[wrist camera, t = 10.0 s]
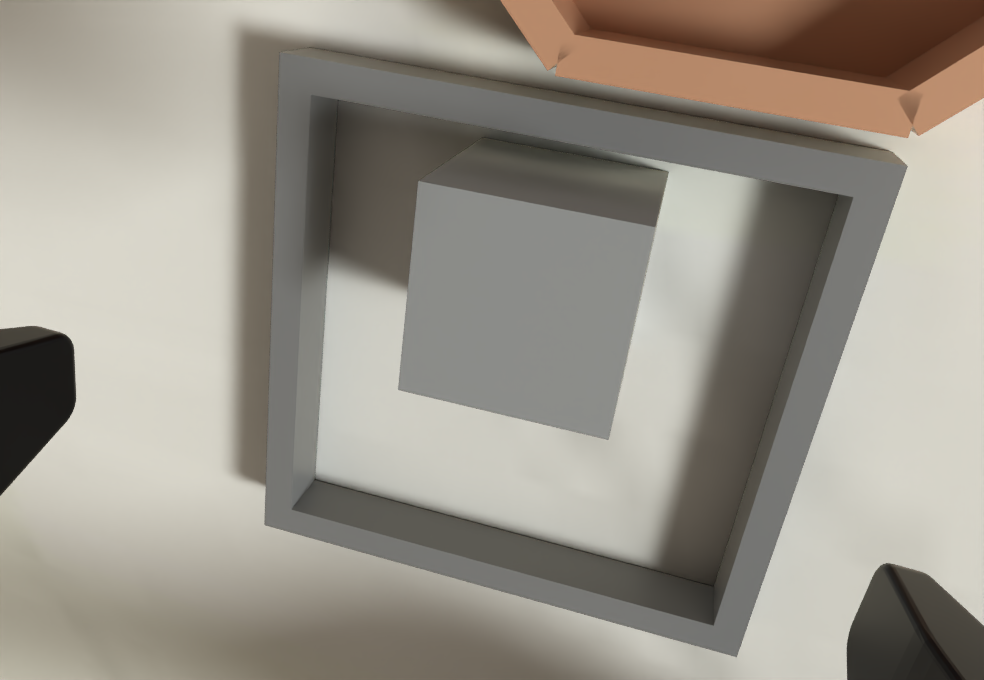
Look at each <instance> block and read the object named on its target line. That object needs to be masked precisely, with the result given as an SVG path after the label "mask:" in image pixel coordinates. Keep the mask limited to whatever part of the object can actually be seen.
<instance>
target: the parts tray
mask: <svg viewBox="0 0 984 680" xmlns="http://www.w3.org/2000/svg"><path fill="white" fill-rule="evenodd" d="M338 100H342V101H347V102H353V103H358V104H363V105H369V106H374V107H379V108H384V109H390V110H395V111H400V112H406V113H411V114H416V115H421V116H427V117H432V118H437V119H443V120H448V121H453V122H459V123H464V124H469V125H474V126H480V127H485V128H490V129H496V130H501V131H506V132H511V133H517V134H522V135H527V136H533V137H538V138H543V139H548V140H554V141H559V142H564V143H570V144H575V145H580V146H586V147H591V148H596V149H601V150H607V151H612V152H617V153H623V154H628V155H633V156H638V157H644V158H649V159H654V160H660V161H665V162H670V163H675V164H681V165H686V166H691V167H697V168H702V169H707V170H713V171H718V172H723V173H728V174H734V175H739V176H744V177H750V178H755V179H760V180H765V181H771V182H776V183H781V184H787V185H792V186H797V187H802V188H808V189H813V190H818V191H824V192H829V193H834V194H839V195H838V198H837V201H836V204H835V208H834V211H833V214H832V217H831V220H830V223H829V226H828V230H827V233H826V236H825V239H824V242H823V245H822V248H821V251H820V255H819V258H818V261H817V264H816V267H815V270H814V273H813V277H812V280H811V283H810V286H809V289H808V292H807V295H806V299H805V302H804V305H803V308H802V311H801V314H800V317H799V321H798V324H797V327H796V330H795V333H794V336H793V339H792V343H791V346H790V349H789V352H788V355H787V358H786V361H785V365H784V368H783V371H782V374H781V377H780V380H779V383H778V386H777V390H776V393H775V396H774V399H773V402H772V405H771V408H770V412H769V415H768V418H767V421H766V424H765V427H764V430H763V434H762V437H761V440H760V443H759V446H758V449H757V452H756V456H755V459H754V462H753V465H752V468H751V471H750V474H749V478H748V481H747V484H746V487H745V490H744V493H743V496H742V500H741V503H740V506H739V509H738V512H737V515H736V518H735V521H734V525H733V528H732V531H731V534H730V537H729V540H728V543H727V547H726V550H725V553H724V556H723V559H722V562H721V565H720V569H719V572H718V575H717V578H716V581H715V584H714V587H713V586H709V585H705V584H702V583H698V582H694V581H690V580H687V579H683V578H679V577H675V576H672V575H668V574H664V573H661V572H657V571H653V570H649V569H646V568H642V567H638V566H634V565H631V564H627V563H623V562H619V561H616V560H612V559H608V558H604V557H601V556H597V555H593V554H590V553H586V552H582V551H578V550H575V549H571V548H567V547H563V546H560V545H556V544H552V543H548V542H545V541H541V540H537V539H533V538H530V537H526V536H522V535H519V534H515V533H511V532H507V531H504V530H500V529H496V528H492V527H489V526H485V525H481V524H477V523H474V522H470V521H466V520H462V519H459V518H455V517H451V516H448V515H444V514H440V513H436V512H433V511H429V510H425V509H421V508H418V507H414V506H410V505H406V504H403V503H399V502H395V501H391V500H388V499H384V498H380V497H377V496H373V495H369V494H365V493H362V492H358V491H354V490H350V489H347V488H343V487H339V486H335V485H332V484H328V483H324V482H320V481H317V480H315V469H316V453H317V437H318V420H319V404H320V387H321V371H322V354H323V338H324V322H325V305H326V289H327V272H328V256H329V240H330V223H331V207H332V190H333V174H334V157H335V141H336V125H337V108H338ZM907 167H908V166H907V165H906V164H905V163H904V162H903V161H902V160H901V159H900V158H899V157H897V156H896V155H895V154H894V153H893V152H891V151H885V150H880V149H874V148H869V147H863V146H857V145H852V144H846V143H841V142H835V141H830V140H824V139H818V138H813V137H807V136H802V135H796V134H791V133H785V132H779V131H774V130H768V129H763V128H757V127H751V126H746V125H740V124H735V123H729V122H724V121H718V120H712V119H707V118H701V117H696V116H690V115H685V114H679V113H673V112H668V111H662V110H657V109H651V108H646V107H640V106H634V105H629V104H623V103H618V102H612V101H606V100H601V99H595V98H590V97H584V96H579V95H573V94H567V93H562V92H556V91H551V90H545V89H540V88H534V87H528V86H523V85H517V84H512V83H506V82H501V81H495V80H489V79H484V78H478V77H473V76H467V75H462V74H456V73H450V72H445V71H439V70H434V69H428V68H422V67H417V66H411V65H406V64H400V63H395V62H389V61H383V60H378V59H372V58H367V57H361V56H356V55H350V54H344V53H339V52H333V51H328V50H322V49H317V48H311V47H309V48H303V49H296V50H290V51H284V52H280V55H279V86H278V118H277V149H276V181H275V212H274V244H273V275H272V306H271V338H270V369H269V401H268V432H267V464H266V495H265V525H266V526H270V527H273V528H277V529H281V530H284V531H288V532H291V533H295V534H298V535H302V536H306V537H309V538H313V539H316V540H320V541H323V542H327V543H331V544H334V545H338V546H341V547H345V548H348V549H352V550H356V551H359V552H363V553H366V554H370V555H374V556H377V557H381V558H384V559H388V560H391V561H395V562H399V563H402V564H406V565H409V566H413V567H416V568H420V569H424V570H427V571H431V572H434V573H438V574H441V575H445V576H449V577H452V578H456V579H459V580H463V581H466V582H470V583H474V584H477V585H481V586H484V587H488V588H492V589H495V590H499V591H502V592H506V593H509V594H513V595H517V596H520V597H524V598H527V599H531V600H534V601H538V602H542V603H545V604H549V605H552V606H556V607H559V608H563V609H567V610H570V611H574V612H577V613H581V614H584V615H588V616H592V617H595V618H599V619H602V620H606V621H610V622H613V623H617V624H620V625H624V626H627V627H631V628H635V629H638V630H642V631H645V632H649V633H652V634H656V635H660V636H663V637H667V638H670V639H674V640H677V641H681V642H685V643H688V644H692V645H695V646H699V647H702V648H706V649H710V650H713V651H717V652H720V653H724V654H728V655H731V656H735V657H737V654H738V651H739V648H740V646H741V643H742V640H743V637H744V634H745V631H746V628H747V626H748V623H749V620H750V617H751V614H752V611H753V608H754V605H755V603H756V600H757V597H758V594H759V591H760V588H761V585H762V583H763V580H764V577H765V574H766V571H767V568H768V565H769V562H770V560H771V557H772V554H773V551H774V548H775V545H776V542H777V539H778V537H779V534H780V531H781V528H782V525H783V522H784V519H785V517H786V514H787V511H788V508H789V505H790V502H791V499H792V496H793V494H794V491H795V488H796V485H797V482H798V479H799V476H800V473H801V471H802V468H803V465H804V462H805V459H806V456H807V453H808V451H809V448H810V445H811V442H812V439H813V436H814V433H815V430H816V428H817V425H818V422H819V419H820V416H821V413H822V410H823V408H824V405H825V402H826V399H827V396H828V393H829V390H830V387H831V385H832V382H833V379H834V376H835V373H836V370H837V367H838V364H839V362H840V359H841V356H842V353H843V350H844V347H845V344H846V342H847V339H848V336H849V333H850V330H851V327H852V324H853V321H854V319H855V316H856V313H857V310H858V307H859V304H860V301H861V298H862V296H863V293H864V290H865V287H866V284H867V281H868V278H869V276H870V273H871V270H872V267H873V264H874V261H875V258H876V255H877V253H878V250H879V247H880V244H881V241H882V238H883V235H884V233H885V230H886V227H887V224H888V221H889V218H890V215H891V212H892V210H893V207H894V204H895V201H896V198H897V195H898V192H899V189H900V187H901V184H902V181H903V178H904V175H905V172H906V169H907Z"/></svg>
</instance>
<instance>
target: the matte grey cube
mask: <svg viewBox="0 0 984 680" xmlns="http://www.w3.org/2000/svg"><path fill="white" fill-rule="evenodd" d="M668 173H669V172H667V171H662V170H656V169H651V168H645V167H640V166H635V165H629V164H624V163H618V162H613V161H607V160H602V159H597V158H591V157H586V156H580V155H575V154H569V153H564V152H558V151H553V150H548V149H542V148H537V147H531V146H526V145H520V144H515V143H509V142H504V141H499V140H493V139H488V138H481V139H480V140H478V141H477V142H475V143H474V144H472V145H471V146H469V147H468V148H467V149H465V150H464V151H462V152H461V153H459V154H458V155H456V156H455V157H453V158H452V159H450V160H449V161H447V162H446V163H444V164H443V165H441V166H440V167H438V168H437V169H435V170H434V171H432V172H431V173H429V174H428V175H427V176H425V177H424V178H422V179H421V180H419V181H418V189H417V200H416V210H415V220H414V231H413V241H412V251H411V262H410V272H409V282H408V293H407V303H406V313H405V324H404V334H403V344H402V355H401V365H400V375H399V386H398V390H401V391H405V392H409V393H413V394H418V395H422V396H426V397H430V398H434V399H439V400H443V401H447V402H451V403H455V404H460V405H464V406H468V407H472V408H476V409H481V410H485V411H489V412H493V413H497V414H502V415H506V416H510V417H514V418H518V419H523V420H527V421H531V422H535V423H539V424H544V425H548V426H552V427H556V428H560V429H565V430H569V431H573V432H577V433H581V434H586V435H590V436H594V437H598V438H602V439H607V440H609V435H610V431H611V427H612V422H613V418H614V414H615V409H616V405H617V401H618V396H619V392H620V388H621V383H622V379H623V375H624V370H625V366H626V362H627V357H628V353H629V349H630V344H631V340H632V335H633V331H634V326H635V322H636V317H637V313H638V308H639V304H640V299H641V295H642V290H643V286H644V281H645V277H646V272H647V268H648V263H649V259H650V254H651V250H652V245H653V241H654V236H655V232H656V227H657V223H658V218H659V214H660V209H661V205H662V200H663V196H664V191H665V187H666V182H667V178H668Z"/></svg>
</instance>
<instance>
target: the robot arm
mask: <svg viewBox="0 0 984 680" xmlns="http://www.w3.org/2000/svg"><path fill="white" fill-rule="evenodd" d="M75 402H76V382H75V360H74V346H73V344H72V341H71V339H70V338H69V337H68V336H67V335H65V334H63V333H60V332H57V331H53V330H49V329H46V328H42V327H38V326H26V327H17V328H8V329H0V496H1V494H2V493H3V492H4V491H5V490H6V489H7V488H8V487H9V485H10V484H11V483H12V482H13V481H14V480H15V479H16V478H17V476H18V475H19V474H20V473H21V472H22V471H23V470H24V469H25V468H26V466H27V465H28V464H29V463H30V462H31V461H32V460H33V459H34V457H35V456H36V455H37V454H38V453H39V452H40V451H41V450H42V448H43V447H44V446H45V445H46V444H47V443H48V442H49V441H50V440H51V438H52V437H53V436H54V435H55V434H56V433H57V432H58V431H59V429H60V428H61V427H62V426H63V425H64V424H65V423H66V422H67V420H68V419H69V418H70V416H71V414H72V412H73V409H74V407H75ZM847 680H984V626H983V625H982V624H981V623H980V622H979V621H978V620H977V619H976V618H975V617H974V616H973V615H971V614H970V613H969V612H968V611H967V610H966V609H965V608H964V607H963V606H962V605H961V604H960V603H958V602H957V601H956V600H955V599H954V598H953V597H952V596H951V595H950V594H949V593H948V592H947V591H945V590H944V589H943V588H942V587H941V586H940V585H939V584H938V583H937V582H936V581H935V580H934V579H932V578H931V577H930V576H929V575H927V574H925V573H923V572H920V571H917V570H913V569H909V568H906V567H902V566H898V565H895V564H890V563H886V564H883V565H881V566H880V567H879V568H878V569H877V570H876V572H875V573H874V575H873V577H872V580H871V582H870V584H869V587H868V589H867V591H866V593H865V596H864V598H863V600H862V602H861V605H860V607H859V609H858V612H857V614H856V616H855V618H854V621H853V623H852V625H851V628H850V632H849V636H848V642H847Z"/></svg>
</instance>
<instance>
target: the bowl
mask: <svg viewBox="0 0 984 680" xmlns="http://www.w3.org/2000/svg"><path fill="white" fill-rule="evenodd" d="M500 1H501V2H502V4H503V5H504V7H505V8H506V10H507V11H508V12H509V14H510V15H511V17H512V18H513V20H514V21H515V23H516V24H517V26H518V27H519V29H520V30H521V32H522V33H523V35H524V36H525V38H526V39H527V41H528V42H529V44H530V45H531V47H532V48H533V50H534V51H535V53H536V54H537V56H538V57H539V59H540V60H541V62H542V63H543V65H544V66H545V68H546V69H547V71H548V70H550V69H552V68H554V67H556V66H557V68H556V74H555V76H559V77H565V78H570V79H576V80H582V81H587V82H593V83H599V84H604V85H610V86H616V87H621V88H627V89H633V90H638V91H644V92H650V93H656V94H661V95H667V96H673V97H678V98H684V99H690V100H695V101H701V102H707V103H712V104H718V105H724V106H729V107H735V108H741V109H746V110H752V111H758V112H763V113H769V114H775V115H780V116H786V117H792V118H797V119H803V120H809V121H814V122H820V123H826V124H831V125H837V126H843V127H848V128H854V129H860V130H865V131H871V132H877V133H882V134H888V135H894V136H899V137H905V138H908V137H909V134H910V131H913V132H914V133H916V134H917V135H918V136H919V135H921V134H923V133H925V132H926V131H928V130H930V129H931V128H933V127H935V126H936V125H938V124H940V123H942V122H943V121H945V120H947V119H948V118H950V117H952V116H954V115H955V114H957V113H959V112H960V111H962V110H964V109H965V108H967V107H969V106H971V105H972V104H974V103H976V102H977V101H979V100H981V99H982V98H984V0H500Z"/></svg>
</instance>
